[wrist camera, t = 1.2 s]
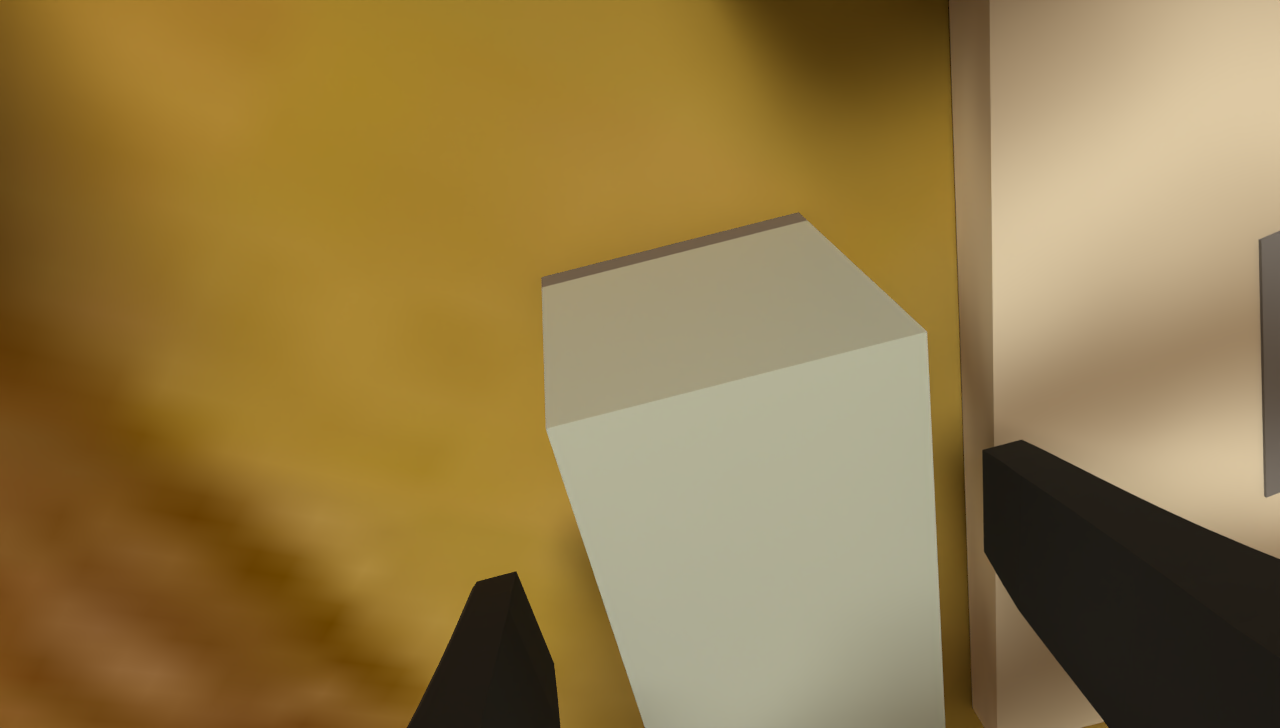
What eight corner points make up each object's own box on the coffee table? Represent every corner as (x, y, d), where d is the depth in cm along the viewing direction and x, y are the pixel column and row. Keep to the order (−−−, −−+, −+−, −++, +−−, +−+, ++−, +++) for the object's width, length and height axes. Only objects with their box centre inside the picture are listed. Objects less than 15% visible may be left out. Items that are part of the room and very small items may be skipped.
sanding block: (839, 556, 17) (946, 762, 13) (641, 606, 17) (678, 831, 13) (796, 209, 13) (926, 331, 9) (541, 274, 13) (546, 428, 9)
